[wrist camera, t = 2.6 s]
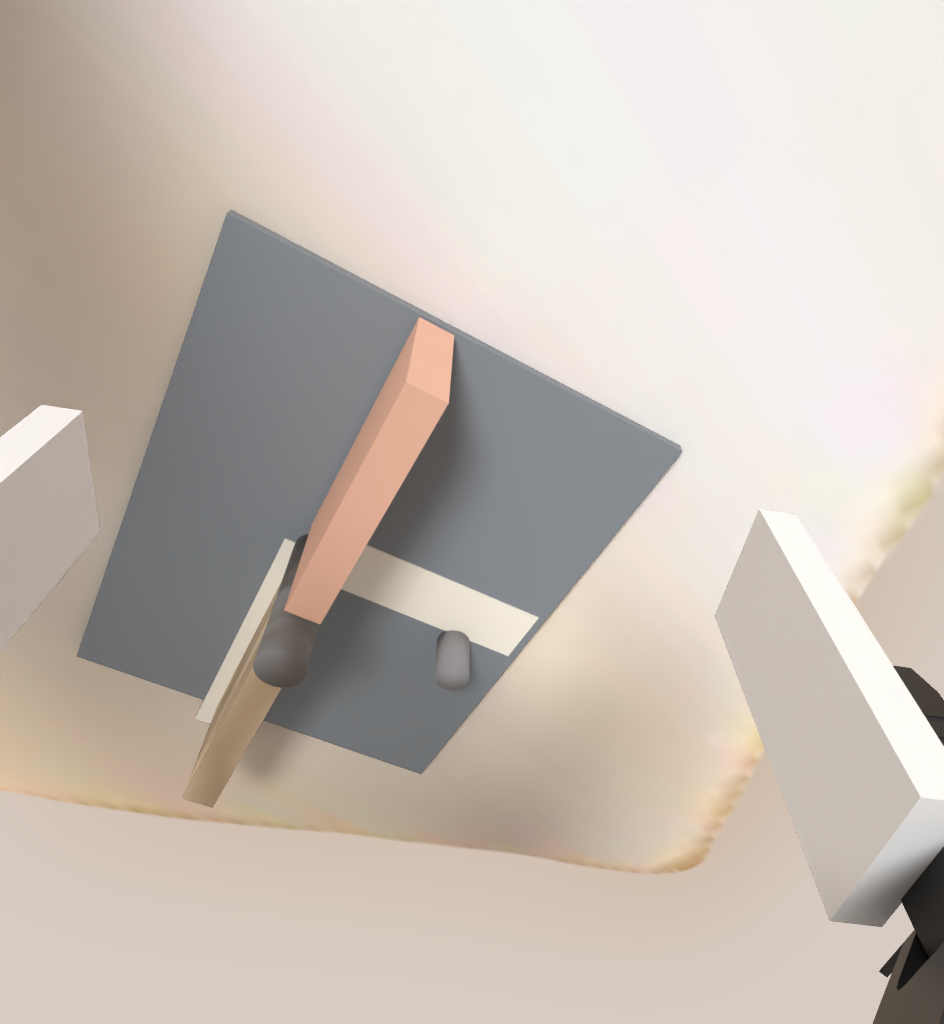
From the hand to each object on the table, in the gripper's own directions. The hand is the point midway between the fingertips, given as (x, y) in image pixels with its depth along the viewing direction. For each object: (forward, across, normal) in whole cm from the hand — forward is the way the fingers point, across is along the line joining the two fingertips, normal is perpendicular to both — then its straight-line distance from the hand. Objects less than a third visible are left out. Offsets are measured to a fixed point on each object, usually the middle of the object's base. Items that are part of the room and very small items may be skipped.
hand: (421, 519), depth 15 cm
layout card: (+22, -4, -18) cm, 29 cm away
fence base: (+22, -8, -23) cm, 33 cm away
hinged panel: (+21, -3, -9) cm, 23 cm away
